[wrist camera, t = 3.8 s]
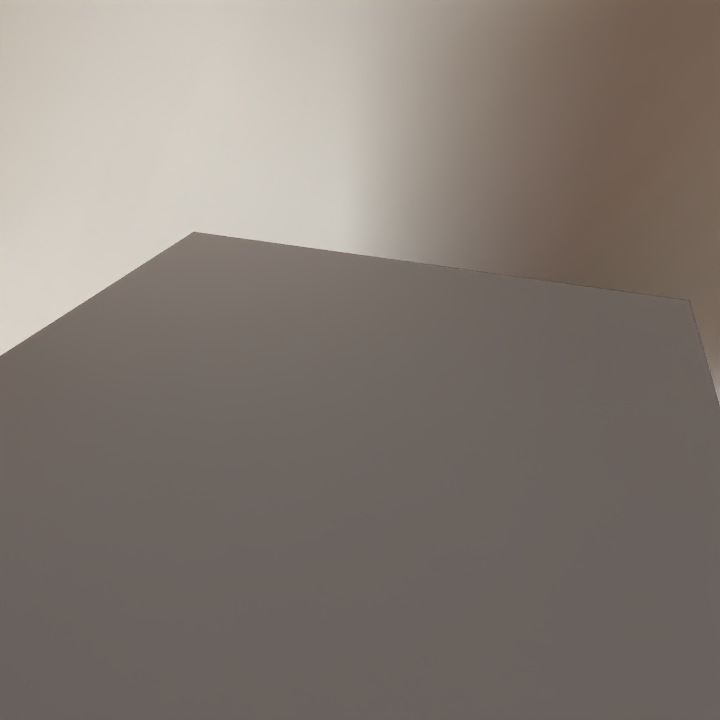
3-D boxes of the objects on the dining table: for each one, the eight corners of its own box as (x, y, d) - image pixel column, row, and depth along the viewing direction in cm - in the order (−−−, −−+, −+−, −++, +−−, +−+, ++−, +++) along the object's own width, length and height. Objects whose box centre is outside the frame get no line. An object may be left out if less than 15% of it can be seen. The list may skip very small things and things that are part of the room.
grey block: (234, 547, 15) (-109, 1093, 7) (193, 231, 11) (-648, 771, 3) (578, 642, 13) (554, 1499, 6) (690, 300, 9) (1142, 1874, 1)
